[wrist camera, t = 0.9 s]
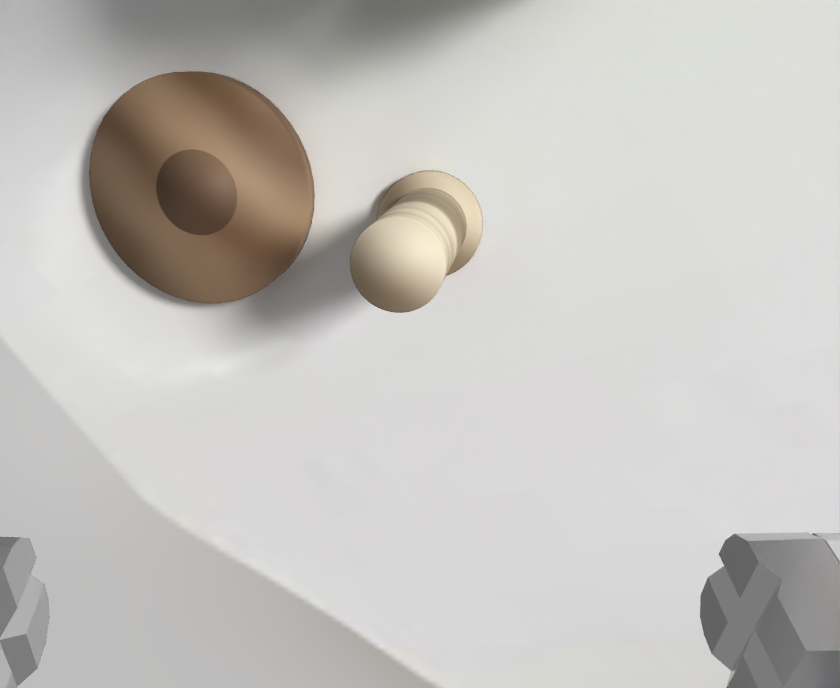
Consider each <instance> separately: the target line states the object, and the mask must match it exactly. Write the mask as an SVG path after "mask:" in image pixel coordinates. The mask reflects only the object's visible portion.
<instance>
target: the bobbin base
mask: <svg viewBox="0 0 840 688" xmlns="http://www.w3.org/2000/svg"><path fill="white" fill-rule="evenodd" d="M89 175H90V189H91V195H92V201H93V205H94V208H95V212H96V215H97V218H98V220H99V223H100V225H101V227H102V230H103V232H104V233H105V235H106V237H107V239H108V241H109V242H110V244H111V245H112V247H113V248H114V250H115V251H116V252H117V254H118V255H119V256H120V258H121V259H122V260H123V261H124V262H125V263H126V264H127V266H128V267H129V268H131V269H132V270H133V271H134V272H135V273H136V274H137V275H138V276H139V277H141V278H142V279H144V280H145V281H146V282H148V283H149V284H151V285H152V286H154V287H156V288H158V289H159V290H161V291H163V292H165V293H168V294H170V295H172V296H175V297H178V298H181V299H185V300H188V301H194V302H201V303H222V302H230V301H234V300H238V299H242V298H245V297H247V296H249V295H252V294H254V293H256V292H258V291H259V290H261V289H262V288H264V287H266V286H267V285H269V284H270V283H271V282H273V281H274V280H275V279H276V278H277V277H279V276H280V275H281V274H282V273H283V272H285V271H286V269H287V268H288V267H289V266H290V265H291V264H292V263H293V262H294V260H295V259H296V257H297V256H298V254H299V253H300V251H301V249H302V247H303V245H304V243H305V241H306V239H307V236H308V233H309V230H310V227H311V223H312V218H313V212H314V196H315V195H314V182H313V176H312V171H311V167H310V163H309V160H308V157H307V154H306V151H305V149H304V147H303V145H302V143H301V140H300V138H299V136H298V135H297V133H296V132H295V130H294V128H293V127H292V125H291V124H290V122H289V121H288V120H287V119H286V117H285V116H284V115H283V114H282V112H281V111H280V110H279V109H278V108H277V107H276V106H275V105H274V104H273V103H272V102H271V101H270V100H269V99H267V98H266V97H265V96H263V95H262V94H261V93H259V92H258V91H257V90H255V89H253V88H251V87H250V86H248V85H246V84H244V83H242V82H240V81H238V80H235V79H233V78H230V77H227V76H223V75H219V74H215V73H208V72H173V73H168V74H162V75H158V76H155V77H153V78H150V79H147V80H145V81H143V82H141V83H139V84H137V85H136V86H134V87H132V88H131V89H130V90H129V91H127V92H126V93H125V94H123V95H122V96H121V97H120V98H119V99H118V100H117V101H116V102H115V103H114V104H113V106H112V107H111V108H110V110H109V111H108V113H107V114H106V115H105V117H104V119H103V121H102V123H101V125H100V127H99V129H98V131H97V134H96V137H95V140H94V143H93V147H92V152H91V157H90V170H89Z"/></svg>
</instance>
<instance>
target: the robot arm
mask: <svg viewBox="0 0 840 688" xmlns="http://www.w3.org/2000/svg"><path fill="white" fill-rule="evenodd" d="M719 555H720V557H721V560H722V562H723V564H724V567H722V568H721V569H719V570H718V571H717V572H715V573H714V574H712V575H711V576H709V577H708V578H707V581H706V583H705V586H704V589H703V591H702V594H701V606H700V618H701V622H702V627H703V632H704V636H705V638H706V641H707V643H708V645H709V648H710V650H711V653H712V654H713V655H714V656H715V657H716V658H717V659H718V660H719V661H721V662H722V663H723V664H724V665H725V666H726V667H728V668H729V669H730V670H731V673H730V677H729V680H728V684H727V688H840V533H813V534H809V533H752V534H734V535H732V536H731V537H729V538H728V539H726V540H725V542H724V544H723V546H722V548H721V550H720V553H719ZM35 560H36V555H35V552H34V550H33V547H32V544H31V541H30V539H29V538H21V537H17V538H16V537H0V688H17V686H18V685H19V684H21V683H22V682H23V681H24V680H25V679H26V678H27V677H28V676H29V675H31V674H32V673H33V672H34V671H35V670H36V669H37V668H38V665H39V662H40V659H41V656H42V653H43V650H44V647H45V644H46V637H47V630H48V624H49V601H48V595H47V592H46V588H45V584H44V583H42V582H41V581H39V580H38V579H37V578H35V577H34V576H32V575H31V571H32V568H33V566H34V564H35Z"/></svg>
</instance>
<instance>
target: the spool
mask: <svg viewBox="0 0 840 688" xmlns="http://www.w3.org/2000/svg"><path fill="white" fill-rule="evenodd" d="M482 229H483V219H482V213H481V209H480V206H479V203H478V201H477V199H476V197H475V196H474V194H473V193H472V191H471V190H470V189H469V188H468V187H467V186H466V185H465V184H464V183H463V182H461V181H460V180H459V179H457V178H455V177H454V176H452V175H449V174H447V173H443V172H439V171H420V172H416V173H413V174H410V175H408V176H406V177H404V178H402V179H401V180H399V181H398V182H397V183H395V184H394V185H393V186H392V187H391V188H390V189H389V190H388V191H387V193H386V194H385V196H384V197H383V199H382V201H381V203H380V206H379V208H378V212H377V219H376V221H375V222H374V223H372V224H371V225H370V226H369V227H368V228H367V229H365V230H364V231H363V232H362V233H361V234H360V236H359V237H358V239H357V240H356V242H355V244H354V246H353V249H352V252H351V257H350V270H351V275H352V278H353V281H354V283H355V286H356V287H357V289H358V291H359V292H360V293H361V295H362V296H363V297H364V298H365V299H366V300H367V301H369V302H370V303H371V304H373V305H374V306H376V307H378V308H380V309H383V310H386V311H389V312H396V313H403V312H409V311H413V310H416V309H419V308H421V307H422V306H424V305H426V304H427V303H428V302H429V301H430V300H431V299H432V298H433V297H434V296H435V295H436V294H437V292H438V290H439V289H440V287H441V285H442V283H443V281H444V279H445V277H446V276H447V275H450V274H452V273H454V272H456V271H458V270H459V269H460V268H462V267H463V266H464V265H465V264H466V263H467V262H468V261H469V260H470V259H471V258H472V256H473V255H474V253H475V251H476V249H477V247H478V245H479V242H480V239H481V236H482Z"/></svg>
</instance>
